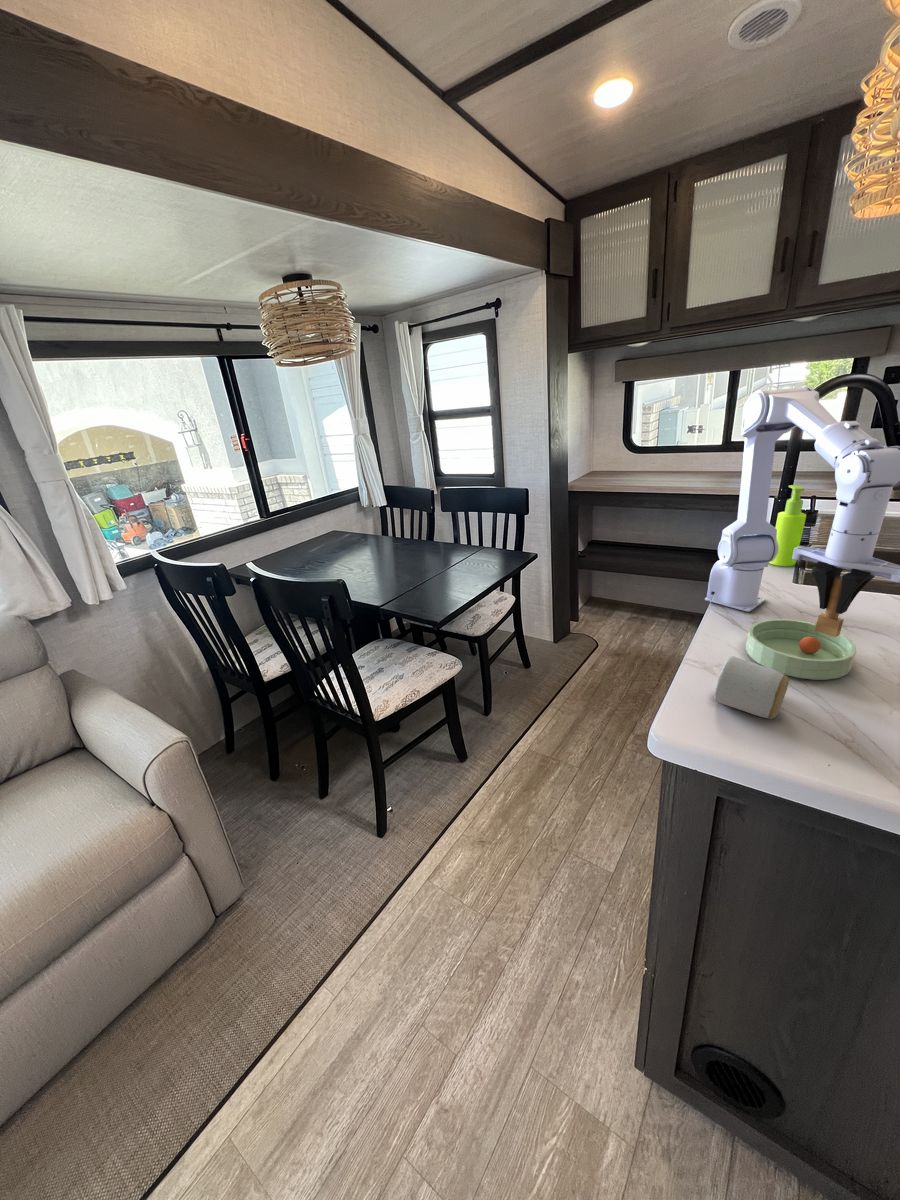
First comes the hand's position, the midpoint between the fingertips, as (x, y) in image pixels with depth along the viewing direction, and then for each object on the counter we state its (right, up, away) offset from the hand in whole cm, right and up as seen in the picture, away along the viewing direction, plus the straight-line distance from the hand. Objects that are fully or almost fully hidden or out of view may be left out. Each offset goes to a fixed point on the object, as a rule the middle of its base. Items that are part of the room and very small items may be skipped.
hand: (833, 609), depth 77 cm
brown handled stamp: (0, -4, +2) cm, 4 cm away
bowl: (-2, -9, +6) cm, 11 cm away
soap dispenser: (+25, +12, +47) cm, 54 cm away
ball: (+1, -6, +6) cm, 9 cm away
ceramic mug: (-17, -15, -4) cm, 23 cm away
